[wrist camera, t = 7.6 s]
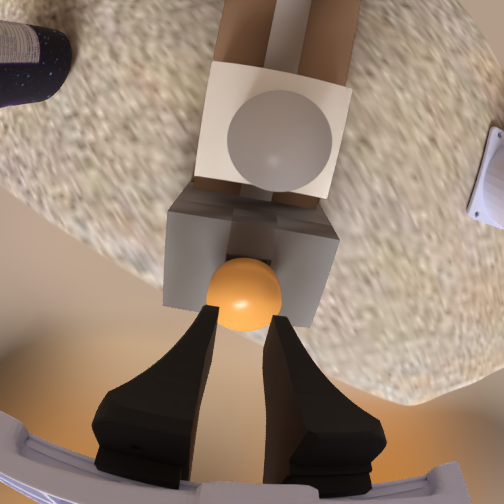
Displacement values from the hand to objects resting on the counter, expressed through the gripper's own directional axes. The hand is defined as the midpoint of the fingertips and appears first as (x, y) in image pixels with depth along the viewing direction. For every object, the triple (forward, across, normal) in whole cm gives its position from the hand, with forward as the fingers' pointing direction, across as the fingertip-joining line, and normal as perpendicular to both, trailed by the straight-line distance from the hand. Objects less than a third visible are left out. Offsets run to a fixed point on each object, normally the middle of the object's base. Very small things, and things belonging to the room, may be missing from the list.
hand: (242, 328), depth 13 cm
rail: (+10, 0, -11) cm, 15 cm away
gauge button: (+5, 0, 0) cm, 5 cm away
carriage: (+8, 0, -8) cm, 11 cm away
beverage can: (+11, +17, -11) cm, 23 cm away
